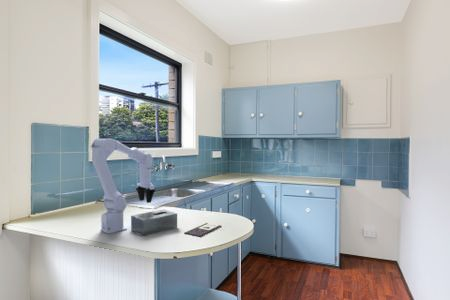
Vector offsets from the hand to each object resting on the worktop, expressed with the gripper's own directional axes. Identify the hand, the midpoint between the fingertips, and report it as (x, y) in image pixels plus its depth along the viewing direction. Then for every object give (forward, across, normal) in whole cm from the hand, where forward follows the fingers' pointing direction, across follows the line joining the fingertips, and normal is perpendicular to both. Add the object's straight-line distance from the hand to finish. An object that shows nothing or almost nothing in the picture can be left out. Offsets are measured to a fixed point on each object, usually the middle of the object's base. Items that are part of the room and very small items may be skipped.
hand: (145, 201), depth 150 cm
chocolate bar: (+11, -34, -12) cm, 38 cm away
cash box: (+10, -16, +4) cm, 19 cm away
